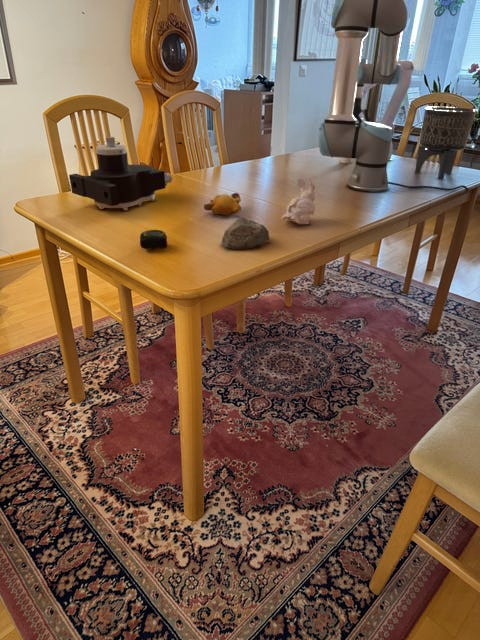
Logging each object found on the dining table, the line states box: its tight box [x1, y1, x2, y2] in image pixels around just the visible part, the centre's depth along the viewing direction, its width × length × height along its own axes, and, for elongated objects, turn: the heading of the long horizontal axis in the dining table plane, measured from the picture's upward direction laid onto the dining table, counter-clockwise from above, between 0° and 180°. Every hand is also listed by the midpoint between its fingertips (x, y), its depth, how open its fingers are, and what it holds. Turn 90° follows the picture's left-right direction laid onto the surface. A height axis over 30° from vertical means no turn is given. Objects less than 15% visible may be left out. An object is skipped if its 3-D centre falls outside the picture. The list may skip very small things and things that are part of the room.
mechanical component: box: [68, 136, 173, 211], centre depth 148 cm, size 22×21×30 cm
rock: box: [221, 216, 270, 250], centre depth 119 cm, size 13×9×6 cm, turn 131°
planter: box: [414, 106, 477, 180], centre depth 193 cm, size 20×20×26 cm
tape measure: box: [139, 229, 168, 250], centre depth 117 cm, size 7×7×4 cm
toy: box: [203, 192, 242, 216], centre depth 145 cm, size 11×6×15 cm
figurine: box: [281, 177, 316, 225], centre depth 135 cm, size 8×15×13 cm, turn 145°
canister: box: [340, 157, 352, 164], centre depth 219 cm, size 5×5×5 cm
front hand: (347, 146), depth 217 cm, fingers open, 13 cm apart
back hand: (352, 136), depth 237 cm, fingers open, 7 cm apart
